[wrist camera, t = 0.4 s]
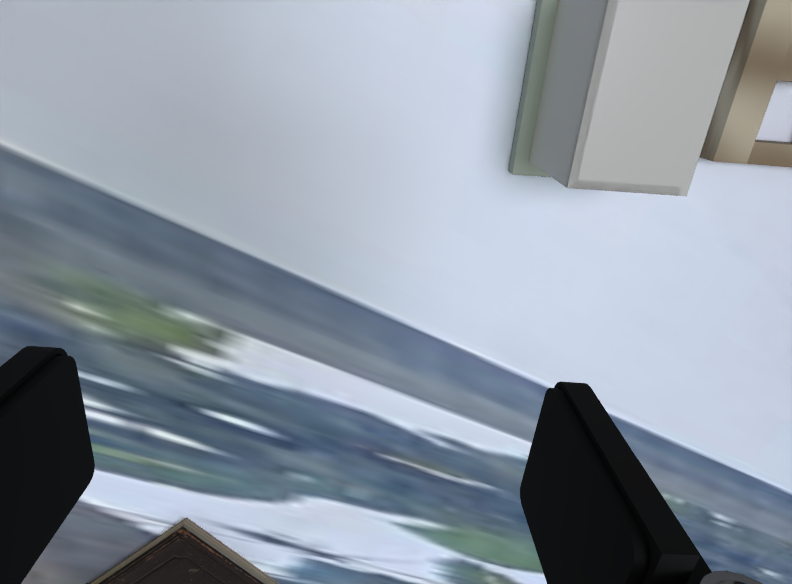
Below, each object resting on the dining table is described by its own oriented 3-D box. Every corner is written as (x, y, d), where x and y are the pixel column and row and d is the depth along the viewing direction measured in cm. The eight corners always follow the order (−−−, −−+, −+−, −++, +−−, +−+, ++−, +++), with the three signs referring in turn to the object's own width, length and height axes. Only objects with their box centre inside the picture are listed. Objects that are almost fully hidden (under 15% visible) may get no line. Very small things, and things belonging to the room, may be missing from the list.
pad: (540, -19, 32) (575, -35, 27) (676, -6, 33) (738, -19, 27) (508, 170, 37) (531, 191, 32) (626, 179, 38) (670, 201, 32)
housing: (558, -2, 32) (612, -19, 24) (666, 8, 32) (751, -5, 25) (528, 161, 36) (567, 187, 28) (624, 168, 36) (686, 196, 29)
